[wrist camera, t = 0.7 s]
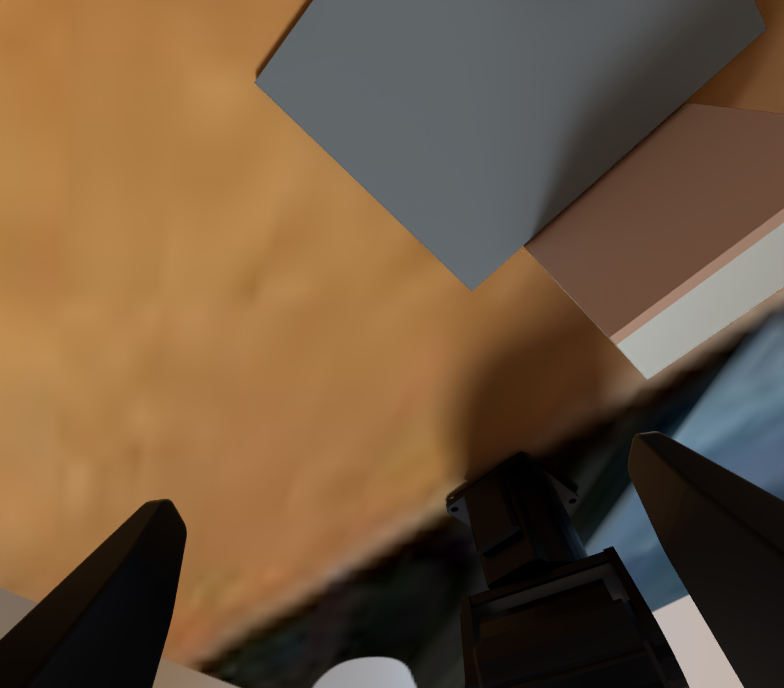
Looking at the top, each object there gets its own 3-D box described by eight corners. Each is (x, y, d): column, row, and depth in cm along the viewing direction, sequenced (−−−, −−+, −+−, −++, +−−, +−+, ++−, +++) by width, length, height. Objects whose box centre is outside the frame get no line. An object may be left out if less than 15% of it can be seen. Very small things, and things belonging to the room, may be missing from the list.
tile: (711, 148, 19) (916, 195, 12) (553, 279, 21) (647, 379, 14) (685, 102, 18) (894, 126, 11) (523, 246, 20) (609, 337, 13)
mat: (758, 29, 16) (766, 28, 16) (469, 287, 21) (471, 291, 21) (583, -375, 11) (590, -388, 11) (256, 82, 16) (254, 82, 16)
